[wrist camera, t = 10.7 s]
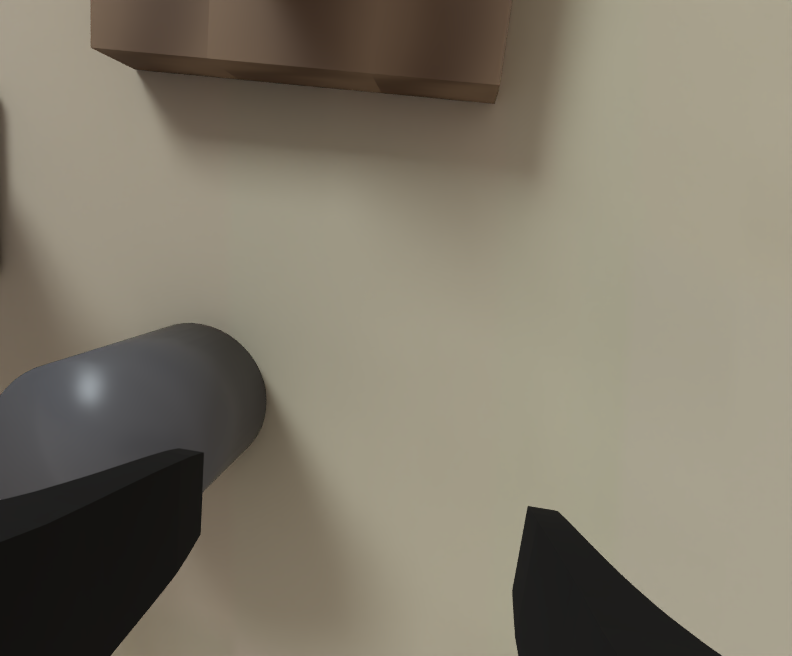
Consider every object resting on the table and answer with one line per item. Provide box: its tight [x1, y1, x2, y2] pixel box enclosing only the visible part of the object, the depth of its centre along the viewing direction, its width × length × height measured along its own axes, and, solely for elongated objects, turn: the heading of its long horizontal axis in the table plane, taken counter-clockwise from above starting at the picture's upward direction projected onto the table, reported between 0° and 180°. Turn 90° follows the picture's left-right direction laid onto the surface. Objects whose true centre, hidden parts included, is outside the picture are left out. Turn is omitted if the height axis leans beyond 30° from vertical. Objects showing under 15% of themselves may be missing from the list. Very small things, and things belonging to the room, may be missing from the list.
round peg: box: [0, 323, 266, 500], centre depth 19 cm, size 6×6×7 cm
